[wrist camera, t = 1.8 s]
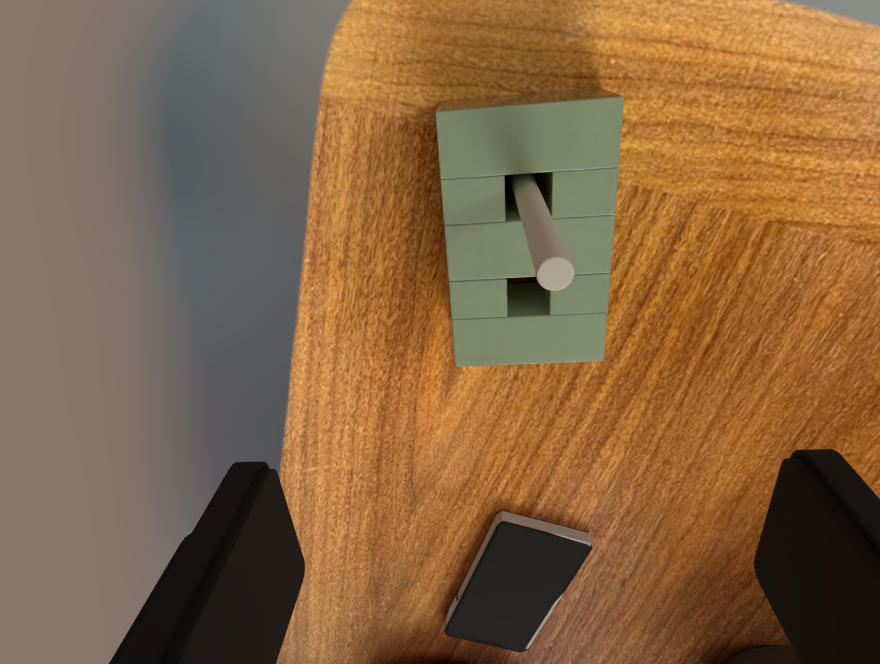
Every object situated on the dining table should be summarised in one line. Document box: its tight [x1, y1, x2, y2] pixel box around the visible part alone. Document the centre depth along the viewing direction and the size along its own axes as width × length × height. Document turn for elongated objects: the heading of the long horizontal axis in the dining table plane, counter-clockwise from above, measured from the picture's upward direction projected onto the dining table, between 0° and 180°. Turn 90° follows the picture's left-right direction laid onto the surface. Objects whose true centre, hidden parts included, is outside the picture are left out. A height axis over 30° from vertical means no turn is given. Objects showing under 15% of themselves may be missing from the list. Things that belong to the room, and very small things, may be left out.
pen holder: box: [435, 88, 624, 367], centre depth 28 cm, size 13×8×4 cm, turn 5°
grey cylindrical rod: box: [511, 173, 574, 291], centre depth 23 cm, size 1×1×14 cm
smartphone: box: [444, 511, 592, 652], centre depth 45 cm, size 8×1×15 cm
